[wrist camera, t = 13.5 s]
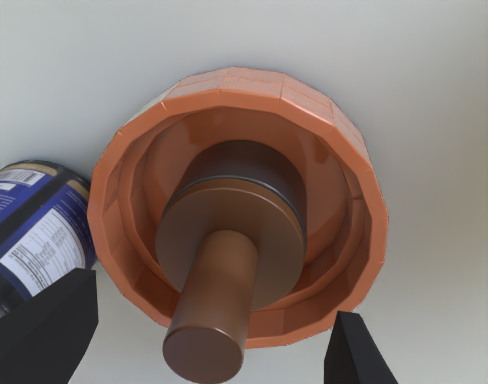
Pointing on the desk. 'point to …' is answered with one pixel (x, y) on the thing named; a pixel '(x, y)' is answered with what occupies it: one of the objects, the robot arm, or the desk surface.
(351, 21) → the desk surface
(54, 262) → the pill bottle
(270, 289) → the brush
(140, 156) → the dish
